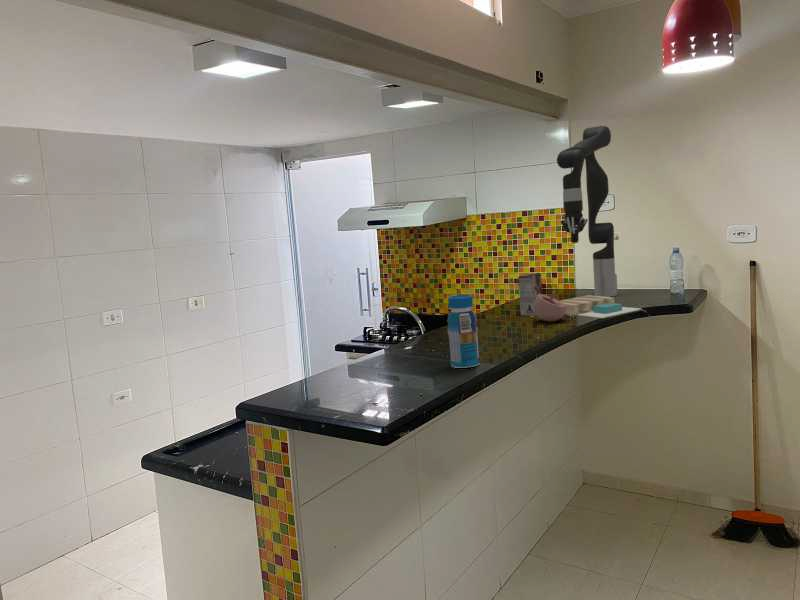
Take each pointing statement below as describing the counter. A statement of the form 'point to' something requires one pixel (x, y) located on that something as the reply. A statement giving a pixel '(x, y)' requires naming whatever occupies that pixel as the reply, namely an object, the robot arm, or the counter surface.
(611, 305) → the teal tile
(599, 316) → the white flat panel
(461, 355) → the beverage bottle
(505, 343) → the counter surface
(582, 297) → the oak deck
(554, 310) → the mortar and pestle
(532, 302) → the coffee box
